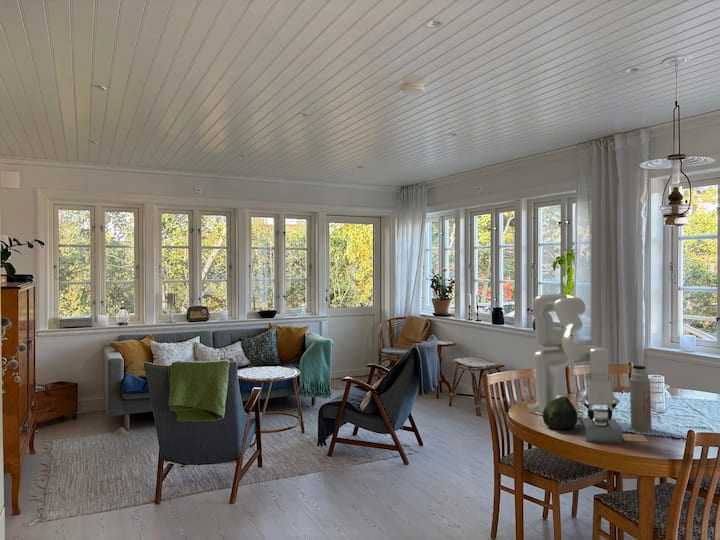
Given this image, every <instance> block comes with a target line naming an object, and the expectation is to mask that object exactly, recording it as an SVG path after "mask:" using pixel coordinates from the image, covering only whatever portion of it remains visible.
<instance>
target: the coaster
mask: <svg viewBox="0 0 720 540" xmlns="http://www.w3.org/2000/svg"><path fill="white" fill-rule="evenodd" d="M622 440H623V442H624V441H625V442H638V443H639V442H641V443H649V440H648V439H647V438H646V437H645V435H644V434H636V433H635V434H633V433H632V434H631V433H622Z"/></svg>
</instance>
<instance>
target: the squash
mask: <svg viewBox="0 0 720 540" xmlns="http://www.w3.org/2000/svg"><path fill="white" fill-rule="evenodd" d="M542 418H543V419H542V420H543V423H544V424H545V426H547V427H548V428H550V427H552V429H558V428H559V429H566V430H572V429H574V428H575V427H576V425H577V422H578V412H577V409H576V407H575V406H574V405H573V403H572V402H571V400H570V399H569V398H568V397H567V396H561V397H558V398H557V399H555V400H553V401H551V402H549V403H547V405H546V406H545V409H544V411H543V416H542Z"/></svg>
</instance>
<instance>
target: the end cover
mask: <svg viewBox="0 0 720 540" xmlns="http://www.w3.org/2000/svg"><path fill="white" fill-rule="evenodd" d="M592 411H593V419H592V420H593V421H594V425H607V422H608V421H609V411H608V410H607V409H605V408H592Z"/></svg>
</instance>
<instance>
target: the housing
mask: <svg viewBox="0 0 720 540" xmlns="http://www.w3.org/2000/svg"><path fill="white" fill-rule="evenodd" d="M580 432H582V433H581V435H582V437H583V439H584V440H585V442H592V443H609V444H610V443H611V444H623V438H622V434H623V428H622V427H621V425H620V424H619V423H618V421H617V420H616V419H613V418H611V420H609V421H608V422H607V425H594V421H593V420H591V419H590V418H589V417H580Z"/></svg>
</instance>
